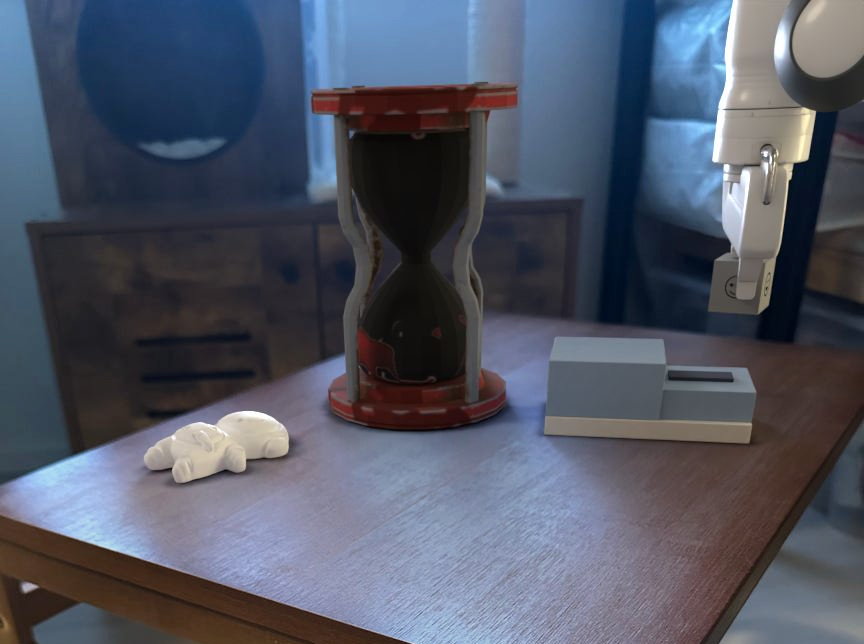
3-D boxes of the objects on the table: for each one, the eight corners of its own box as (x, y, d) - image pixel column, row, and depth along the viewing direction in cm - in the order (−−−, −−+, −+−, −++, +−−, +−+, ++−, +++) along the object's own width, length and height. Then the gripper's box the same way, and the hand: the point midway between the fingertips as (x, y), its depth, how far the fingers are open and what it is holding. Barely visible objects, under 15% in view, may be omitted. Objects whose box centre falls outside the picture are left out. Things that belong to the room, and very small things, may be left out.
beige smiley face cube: (707, 311, 98) (714, 260, 96) (720, 302, 102) (726, 252, 99) (757, 314, 96) (765, 262, 93) (768, 305, 99) (776, 254, 97)
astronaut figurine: (128, 461, 75) (121, 424, 73) (253, 426, 81) (250, 391, 80) (185, 491, 69) (179, 451, 67) (315, 451, 75) (312, 414, 74)
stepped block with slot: (738, 411, 81) (750, 340, 78) (749, 443, 74) (762, 367, 71) (551, 404, 84) (555, 335, 81) (544, 434, 77) (548, 361, 74)
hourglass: (294, 402, 87) (270, 89, 74) (426, 369, 95) (425, 82, 83) (406, 445, 76) (400, 86, 63) (543, 403, 84) (563, 80, 72)
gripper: (814, 148, 82) (786, 313, 89) (782, 134, 99) (761, 274, 106) (737, 150, 83) (716, 313, 90) (719, 136, 100) (703, 274, 107)
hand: (740, 291), depth 98 cm, fingers closed on beige smiley face cube, 5 cm apart
